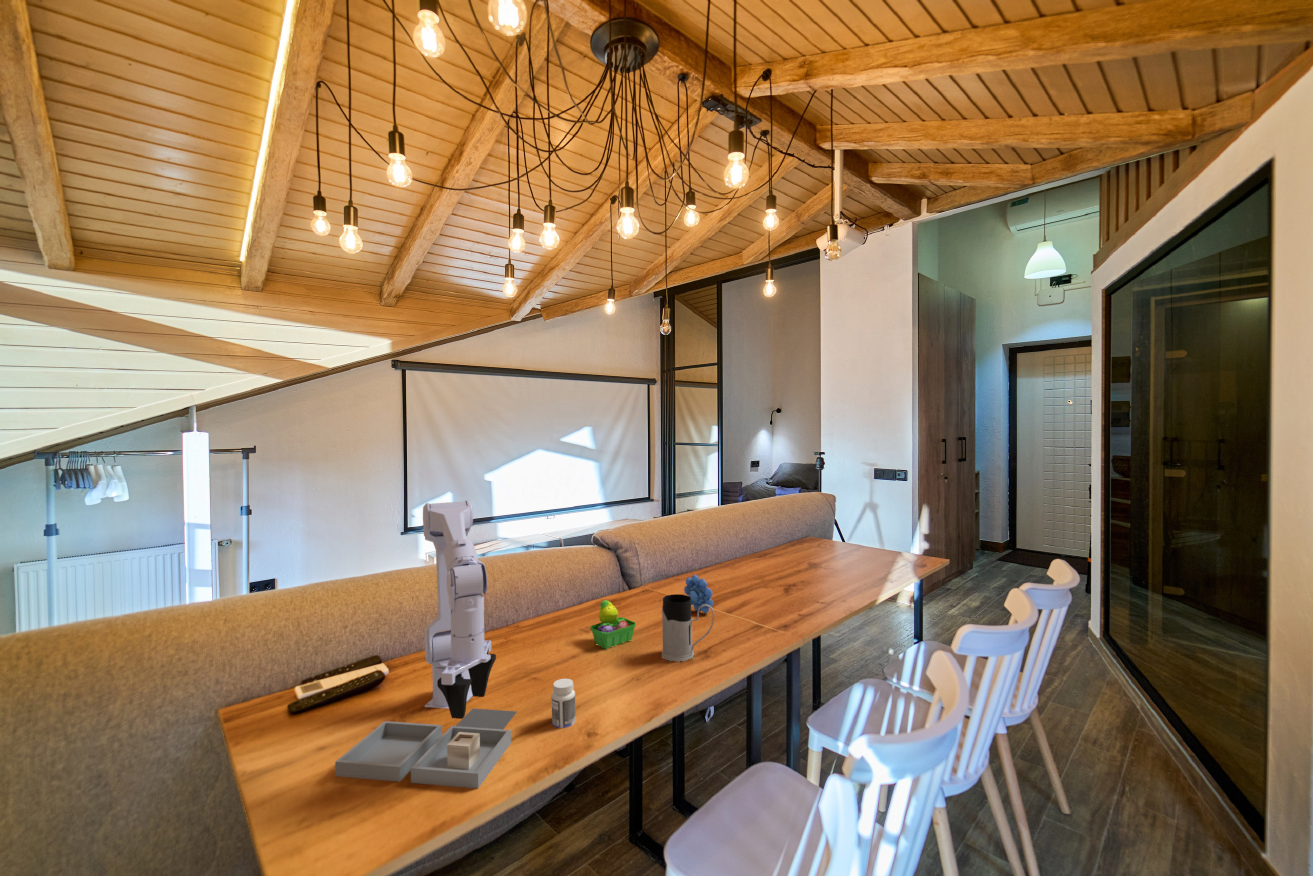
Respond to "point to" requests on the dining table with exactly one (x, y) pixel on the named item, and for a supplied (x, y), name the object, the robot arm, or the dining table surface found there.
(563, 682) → the pill bottle
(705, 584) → the grapes
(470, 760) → the letter cube
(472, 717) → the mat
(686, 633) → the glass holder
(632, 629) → the fruit basket
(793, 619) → the dining table surface
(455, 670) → the robot arm
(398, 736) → the tray
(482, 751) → the tray
